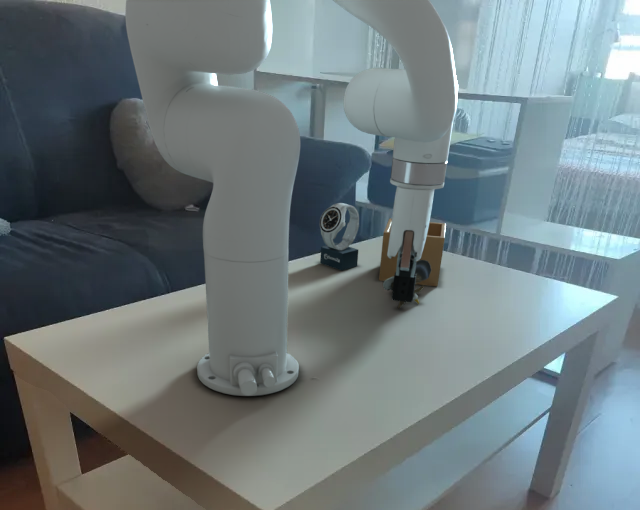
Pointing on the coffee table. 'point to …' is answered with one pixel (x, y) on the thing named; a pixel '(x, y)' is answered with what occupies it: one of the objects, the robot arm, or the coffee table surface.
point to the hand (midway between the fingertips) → (402, 299)
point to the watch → (340, 252)
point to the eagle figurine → (421, 274)
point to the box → (430, 254)
